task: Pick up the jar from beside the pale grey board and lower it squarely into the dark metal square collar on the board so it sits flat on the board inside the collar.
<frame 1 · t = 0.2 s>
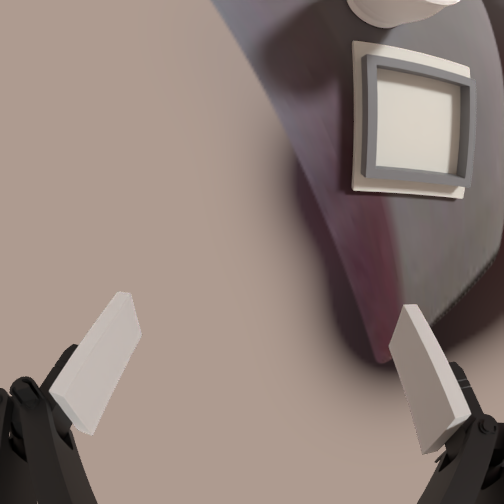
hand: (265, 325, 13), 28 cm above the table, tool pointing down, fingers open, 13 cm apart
socket board: (415, 121, 32), on the table
jar: (375, 3, 25), on the table
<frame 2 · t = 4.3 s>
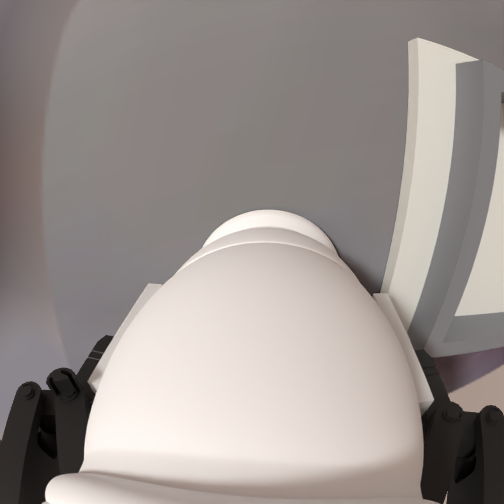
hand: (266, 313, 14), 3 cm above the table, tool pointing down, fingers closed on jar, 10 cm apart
jar: (268, 276, 17), on the table, touching gripper
when the fingers open (6 cm above the table, at t = 10.4 s): jar drops 1 cm, resting on socket board.
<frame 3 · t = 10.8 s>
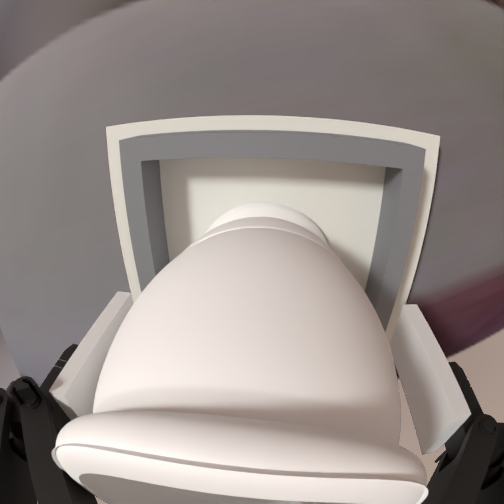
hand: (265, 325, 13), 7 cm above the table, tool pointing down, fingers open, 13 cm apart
socket board: (270, 256, 20), on the table
jar: (264, 264, 19), point 1 cm above the table, touching socket board
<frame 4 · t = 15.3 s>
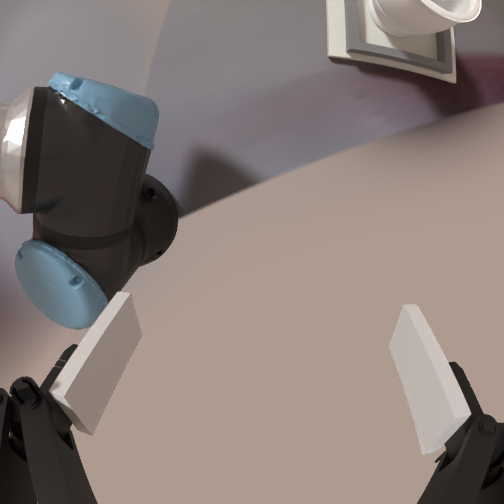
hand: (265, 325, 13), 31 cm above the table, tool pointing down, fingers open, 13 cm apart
socket board: (393, 14, 28), on the table
jar: (393, 12, 27), point 1 cm above the table, touching socket board
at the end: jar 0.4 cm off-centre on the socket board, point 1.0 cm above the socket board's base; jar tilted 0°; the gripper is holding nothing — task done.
